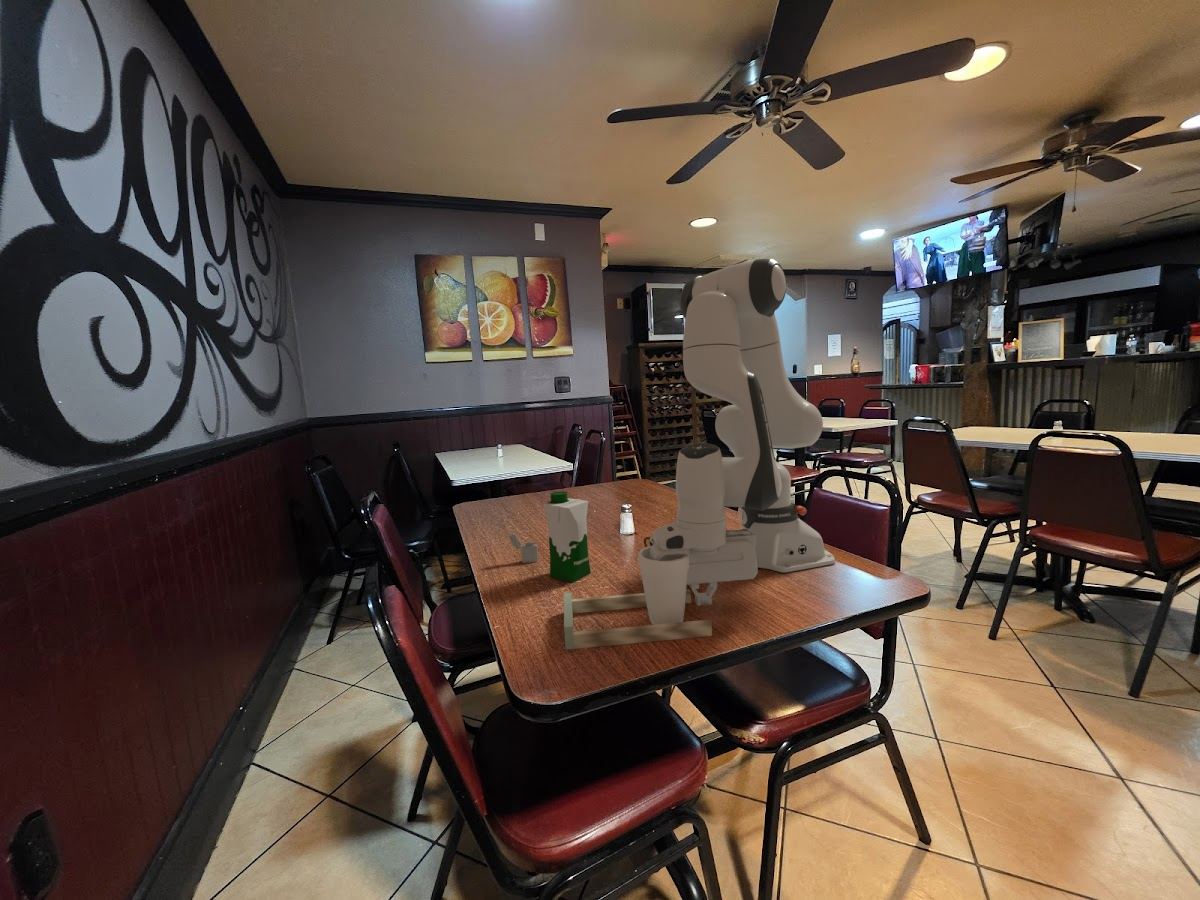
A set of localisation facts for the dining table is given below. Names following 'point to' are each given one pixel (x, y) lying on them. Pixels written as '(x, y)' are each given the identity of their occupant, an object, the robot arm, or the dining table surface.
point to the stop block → (568, 621)
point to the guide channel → (637, 632)
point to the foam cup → (664, 587)
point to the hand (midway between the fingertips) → (703, 603)
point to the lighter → (525, 549)
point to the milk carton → (567, 537)
